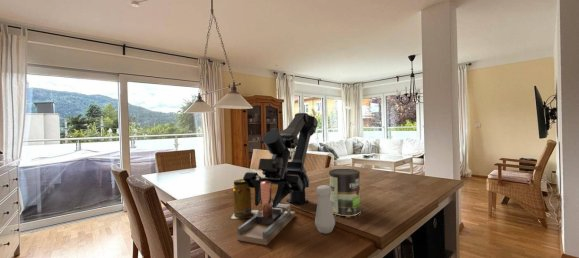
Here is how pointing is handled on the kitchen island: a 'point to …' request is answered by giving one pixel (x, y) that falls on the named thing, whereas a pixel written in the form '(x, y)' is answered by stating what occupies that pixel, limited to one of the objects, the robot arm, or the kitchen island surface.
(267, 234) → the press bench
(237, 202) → the condiment
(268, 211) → the slider
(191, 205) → the kitchen island surface
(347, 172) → the coffee can
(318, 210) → the salt shaker
